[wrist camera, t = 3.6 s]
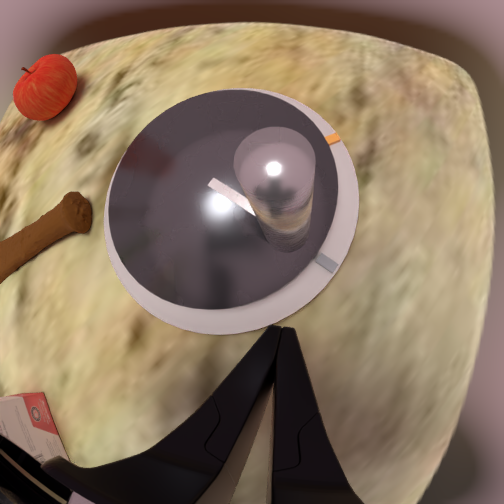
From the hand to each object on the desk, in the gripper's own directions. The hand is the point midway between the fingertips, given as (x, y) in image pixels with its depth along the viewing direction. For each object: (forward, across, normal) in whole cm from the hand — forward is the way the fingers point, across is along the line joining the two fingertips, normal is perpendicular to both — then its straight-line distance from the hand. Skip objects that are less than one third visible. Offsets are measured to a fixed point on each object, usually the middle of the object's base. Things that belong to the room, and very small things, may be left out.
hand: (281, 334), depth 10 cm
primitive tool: (+7, +25, +5) cm, 27 cm away
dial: (+10, +6, -1) cm, 12 cm away
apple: (+20, +28, -8) cm, 35 cm away
